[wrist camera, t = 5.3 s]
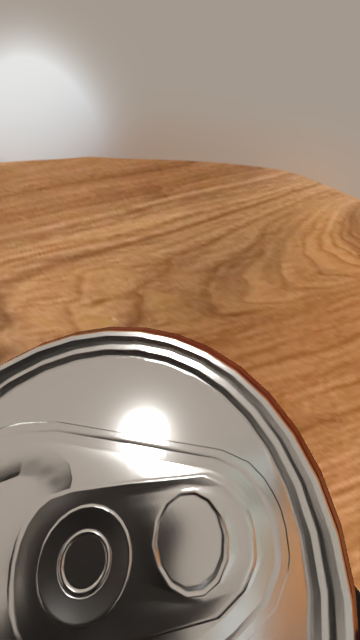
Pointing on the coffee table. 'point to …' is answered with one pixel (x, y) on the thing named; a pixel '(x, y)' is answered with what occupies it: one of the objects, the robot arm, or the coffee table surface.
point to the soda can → (160, 500)
